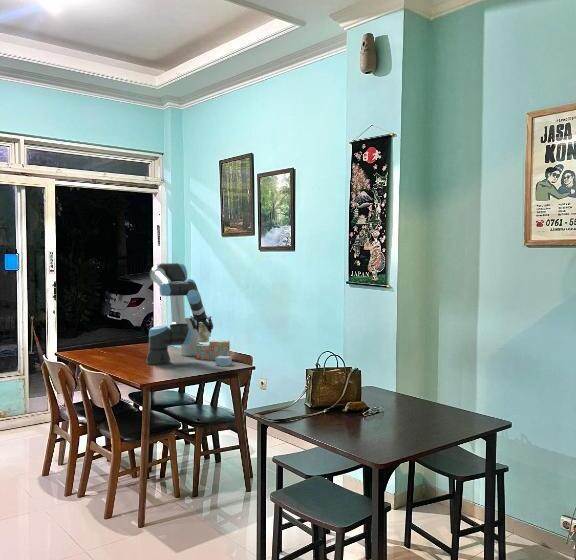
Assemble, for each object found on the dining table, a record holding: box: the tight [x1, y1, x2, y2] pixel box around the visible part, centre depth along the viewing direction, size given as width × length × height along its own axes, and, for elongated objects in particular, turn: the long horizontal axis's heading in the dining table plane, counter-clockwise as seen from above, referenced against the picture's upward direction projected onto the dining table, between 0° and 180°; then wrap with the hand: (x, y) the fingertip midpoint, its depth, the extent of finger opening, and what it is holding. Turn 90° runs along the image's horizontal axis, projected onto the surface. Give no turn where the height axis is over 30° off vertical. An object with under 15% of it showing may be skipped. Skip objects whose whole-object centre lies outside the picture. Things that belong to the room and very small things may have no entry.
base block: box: [215, 355, 233, 367], centre depth 364 cm, size 8×8×5 cm
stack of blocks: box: [195, 339, 231, 361], centre depth 384 cm, size 21×6×12 cm, turn 80°
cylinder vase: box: [180, 317, 200, 357], centre depth 400 cm, size 12×12×25 cm
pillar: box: [199, 321, 210, 343], centre depth 361 cm, size 5×5×12 cm
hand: (205, 335), depth 365 cm, fingers closed on pillar, 5 cm apart
